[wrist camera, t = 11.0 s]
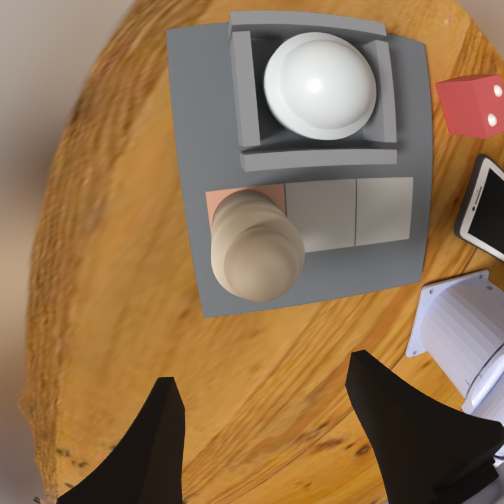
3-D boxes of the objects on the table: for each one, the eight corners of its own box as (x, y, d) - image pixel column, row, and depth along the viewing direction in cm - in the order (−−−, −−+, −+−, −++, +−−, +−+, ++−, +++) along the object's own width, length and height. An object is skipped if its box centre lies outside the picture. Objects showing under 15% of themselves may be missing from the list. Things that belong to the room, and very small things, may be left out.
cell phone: (512, 267, 24) (517, 271, 23) (448, 232, 21) (455, 236, 20) (534, 208, 21) (540, 210, 21) (475, 149, 18) (483, 151, 17)
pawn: (278, 186, 16) (320, 222, 10) (282, 251, 18) (318, 318, 12) (207, 194, 16) (202, 236, 10) (216, 259, 18) (218, 333, 11)
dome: (351, 48, 13) (392, 28, 9) (358, 138, 15) (403, 143, 11) (254, 44, 13) (269, 13, 9) (263, 141, 15) (282, 144, 11)
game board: (415, 45, 14) (446, 36, 11) (413, 276, 21) (437, 297, 18) (168, 35, 13) (158, 14, 10) (204, 309, 20) (203, 341, 17)
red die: (464, 76, 15) (503, 74, 11) (477, 122, 17) (516, 127, 13) (434, 83, 16) (476, 80, 12) (449, 133, 17) (491, 139, 13)
